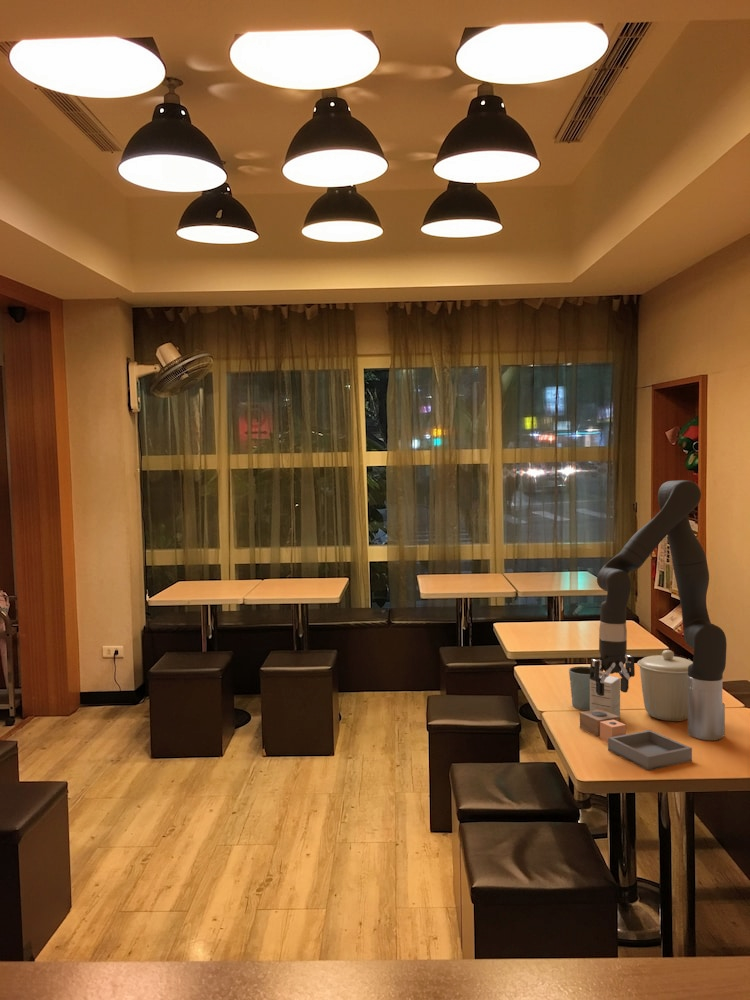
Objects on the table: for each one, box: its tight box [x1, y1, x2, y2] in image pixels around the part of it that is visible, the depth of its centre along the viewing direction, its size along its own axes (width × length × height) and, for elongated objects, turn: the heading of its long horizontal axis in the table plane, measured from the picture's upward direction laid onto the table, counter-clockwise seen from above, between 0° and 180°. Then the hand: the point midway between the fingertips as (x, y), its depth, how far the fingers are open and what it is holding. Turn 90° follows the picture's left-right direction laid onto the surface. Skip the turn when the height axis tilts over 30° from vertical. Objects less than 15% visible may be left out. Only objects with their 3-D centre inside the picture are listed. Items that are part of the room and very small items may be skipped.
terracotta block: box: [599, 719, 627, 743], centre depth 203 cm, size 5×5×5 cm
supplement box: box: [589, 675, 621, 718], centre depth 222 cm, size 7×7×13 cm
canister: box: [636, 649, 693, 722], centre depth 223 cm, size 18×18×21 cm
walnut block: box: [579, 709, 620, 738], centre depth 211 cm, size 8×8×5 cm
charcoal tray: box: [607, 729, 693, 772], centre depth 192 cm, size 15×15×4 cm
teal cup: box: [568, 665, 595, 711], centre depth 234 cm, size 10×10×12 cm
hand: (612, 693), depth 203 cm, fingers open, 8 cm apart
